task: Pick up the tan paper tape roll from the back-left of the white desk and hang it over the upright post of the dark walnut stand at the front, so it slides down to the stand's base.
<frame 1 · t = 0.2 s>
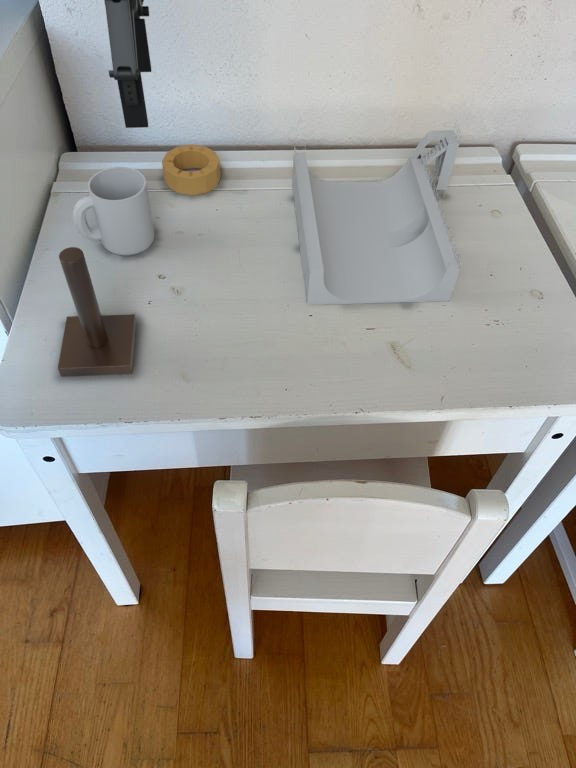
hand: (139, 97, 82), 14 cm above the table, tool pointing down, fingers open, 13 cm apart
cup: (118, 242, 86), on the table
skate ramp: (379, 239, 89), on the table
tape roll: (192, 178, 95), on the table
stand: (100, 348, 75), on the table
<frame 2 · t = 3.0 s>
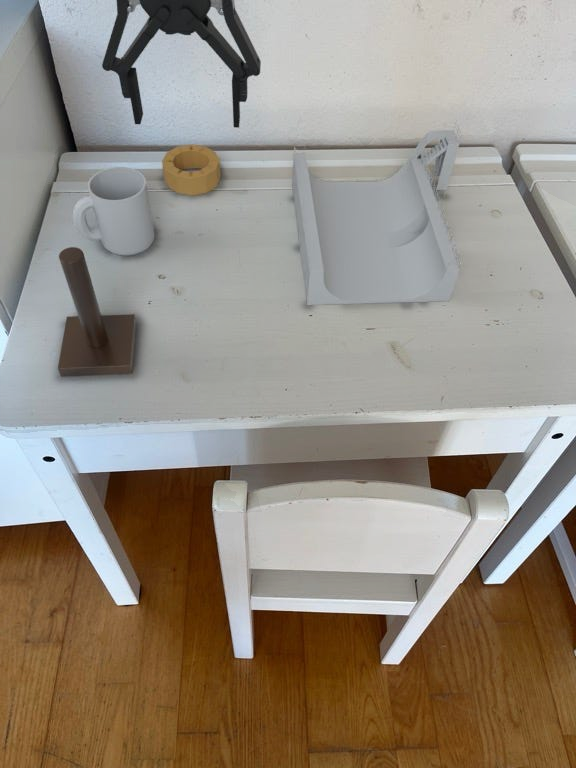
hand: (188, 120, 88), 9 cm above the table, tool pointing down, fingers open, 13 cm apart
nothing on the table moved.
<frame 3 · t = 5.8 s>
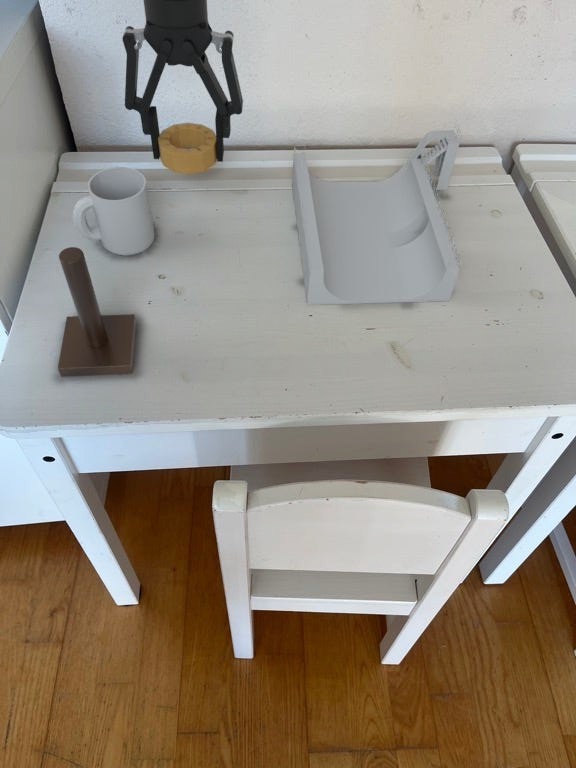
hand: (189, 154, 92), 4 cm above the table, tool pointing down, fingers closed on tape roll, 8 cm apart
tape roll: (189, 157, 92), point 4 cm above the table, touching gripper
everything else where it was.
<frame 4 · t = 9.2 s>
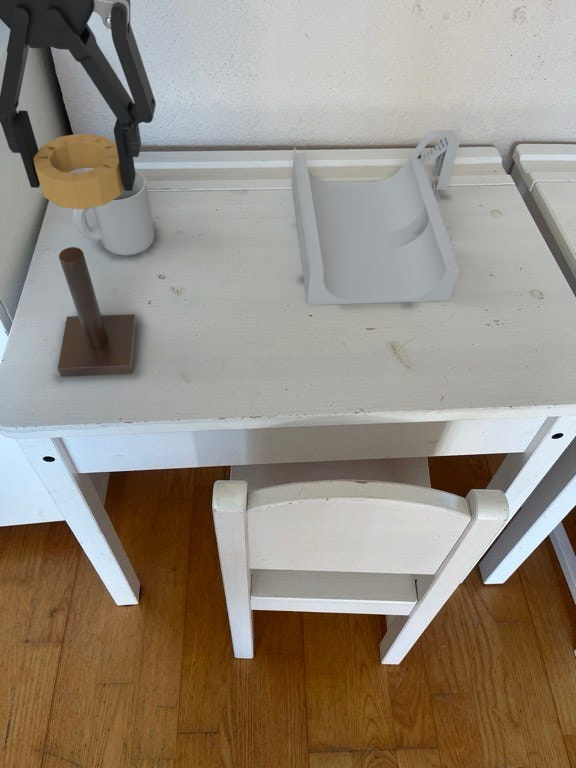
hand: (84, 181, 63), 19 cm above the table, tool pointing down, fingers closed on tape roll, 8 cm apart
tape roll: (84, 183, 64), point 19 cm above the table, touching gripper
everything else where it was.
when the fingers open (10 cm above the table, at t = 12.9 s): tape roll drops 9 cm, resting on stand.
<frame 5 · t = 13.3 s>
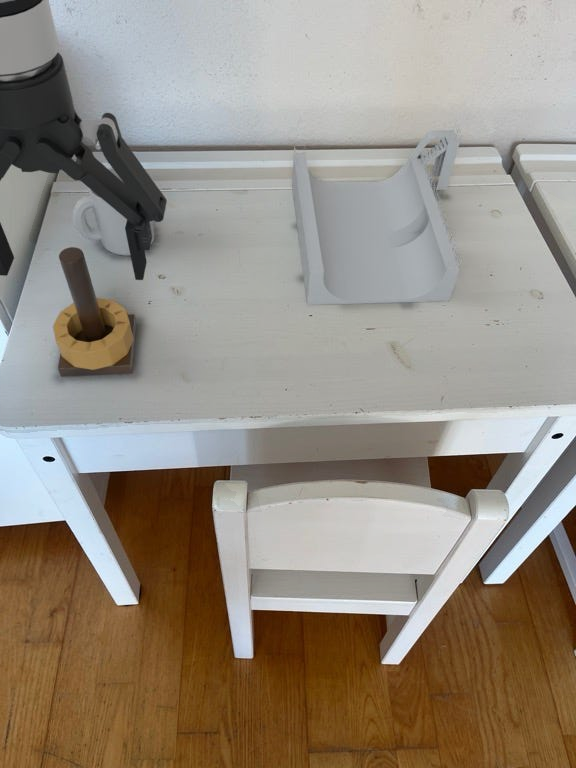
hand: (74, 269, 65), 13 cm above the table, tool pointing down, fingers open, 13 cm apart
tape roll: (96, 341, 73), point 1 cm above the table, touching stand
everything else where it was.
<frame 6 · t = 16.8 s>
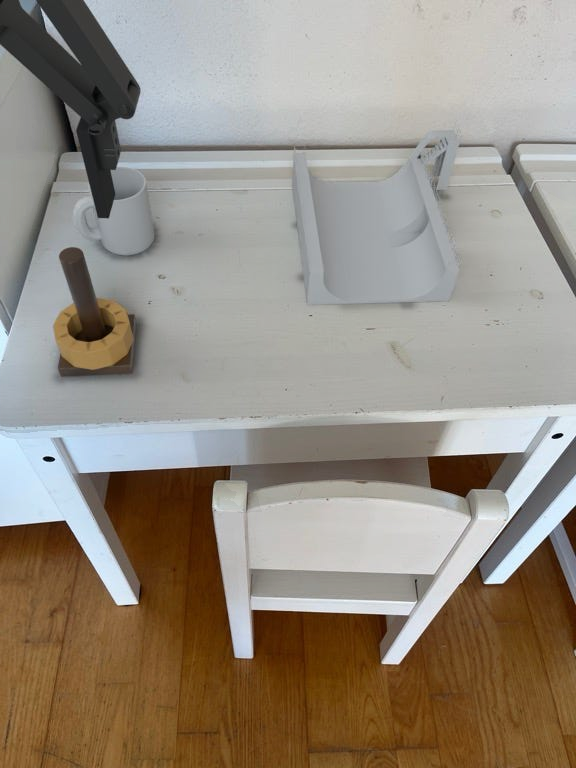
hand: (8, 203, 44), 30 cm above the table, tool pointing down, fingers open, 13 cm apart
nothing on the table moved.
at the end: tape roll 0.2 cm from the stand (horizontally); tape roll point 1.5 cm above the table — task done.
